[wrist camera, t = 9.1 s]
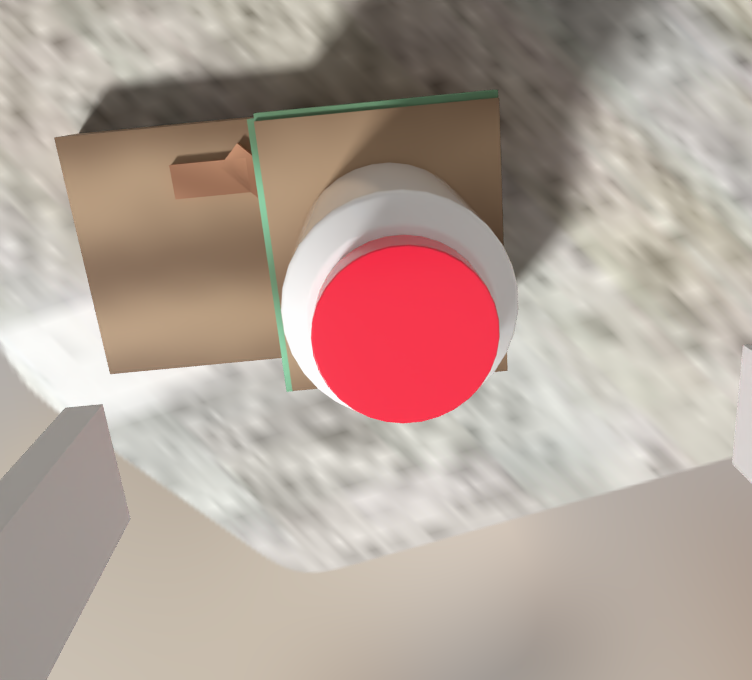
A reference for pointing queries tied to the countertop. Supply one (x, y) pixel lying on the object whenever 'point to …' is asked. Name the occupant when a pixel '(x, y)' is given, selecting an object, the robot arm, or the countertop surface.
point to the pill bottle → (397, 295)
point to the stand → (244, 215)
